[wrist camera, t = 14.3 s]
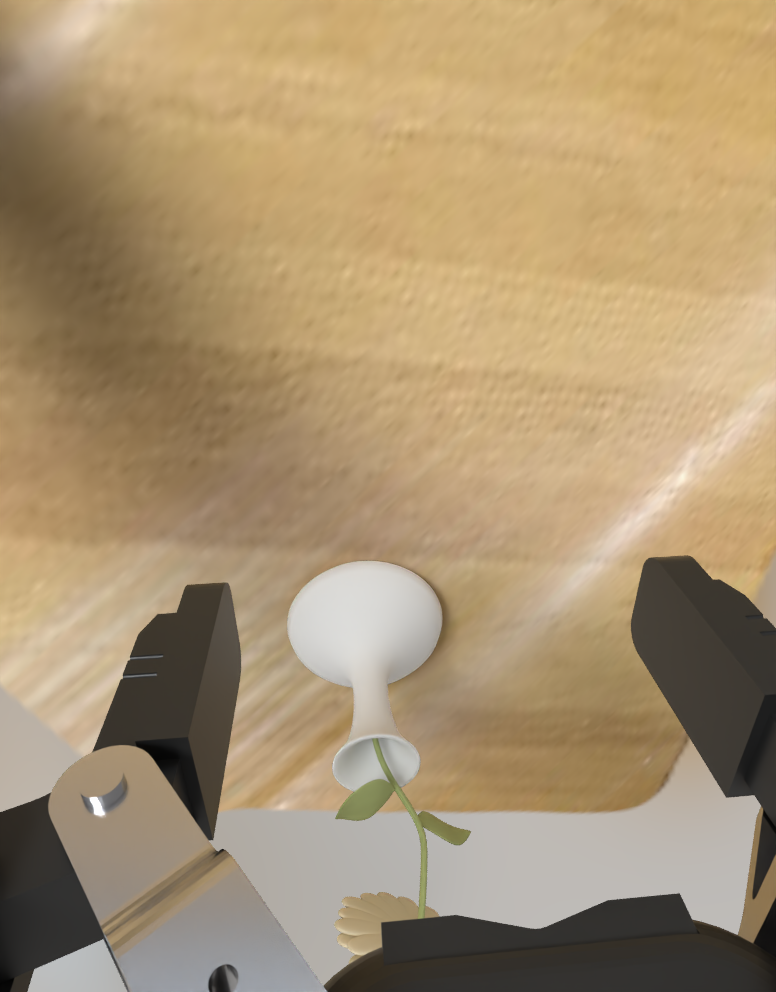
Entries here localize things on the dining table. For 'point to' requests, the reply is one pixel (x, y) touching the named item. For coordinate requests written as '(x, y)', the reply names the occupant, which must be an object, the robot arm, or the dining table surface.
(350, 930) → the flower in vase
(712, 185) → the dining table surface
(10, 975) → the robot arm
